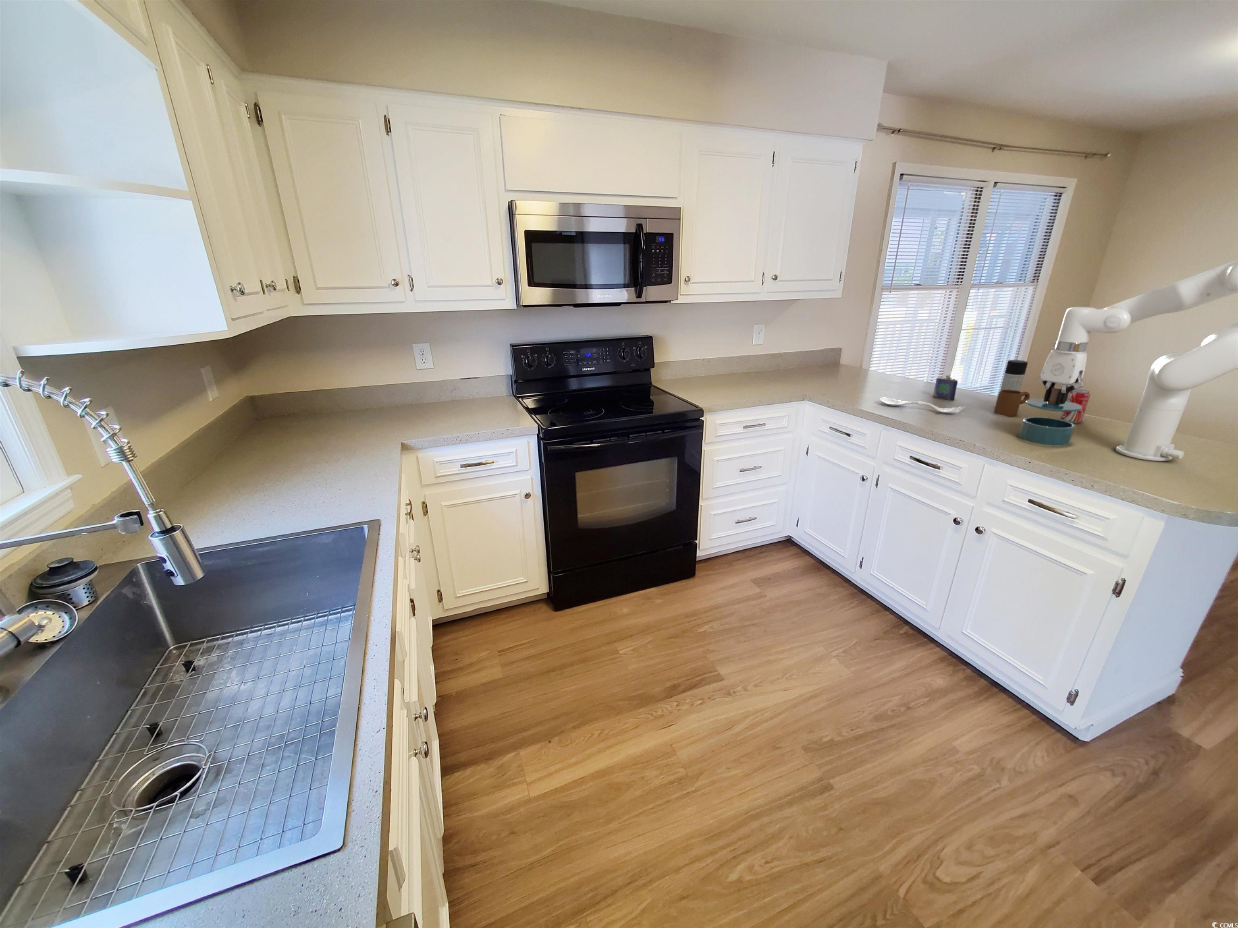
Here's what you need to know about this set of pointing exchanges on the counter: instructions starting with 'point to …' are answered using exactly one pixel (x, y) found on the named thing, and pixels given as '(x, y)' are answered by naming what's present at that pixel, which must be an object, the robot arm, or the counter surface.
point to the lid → (1053, 403)
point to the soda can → (1078, 398)
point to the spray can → (1014, 375)
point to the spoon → (899, 403)
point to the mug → (1010, 402)
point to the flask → (945, 388)
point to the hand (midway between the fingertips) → (1054, 402)
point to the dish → (1047, 431)
